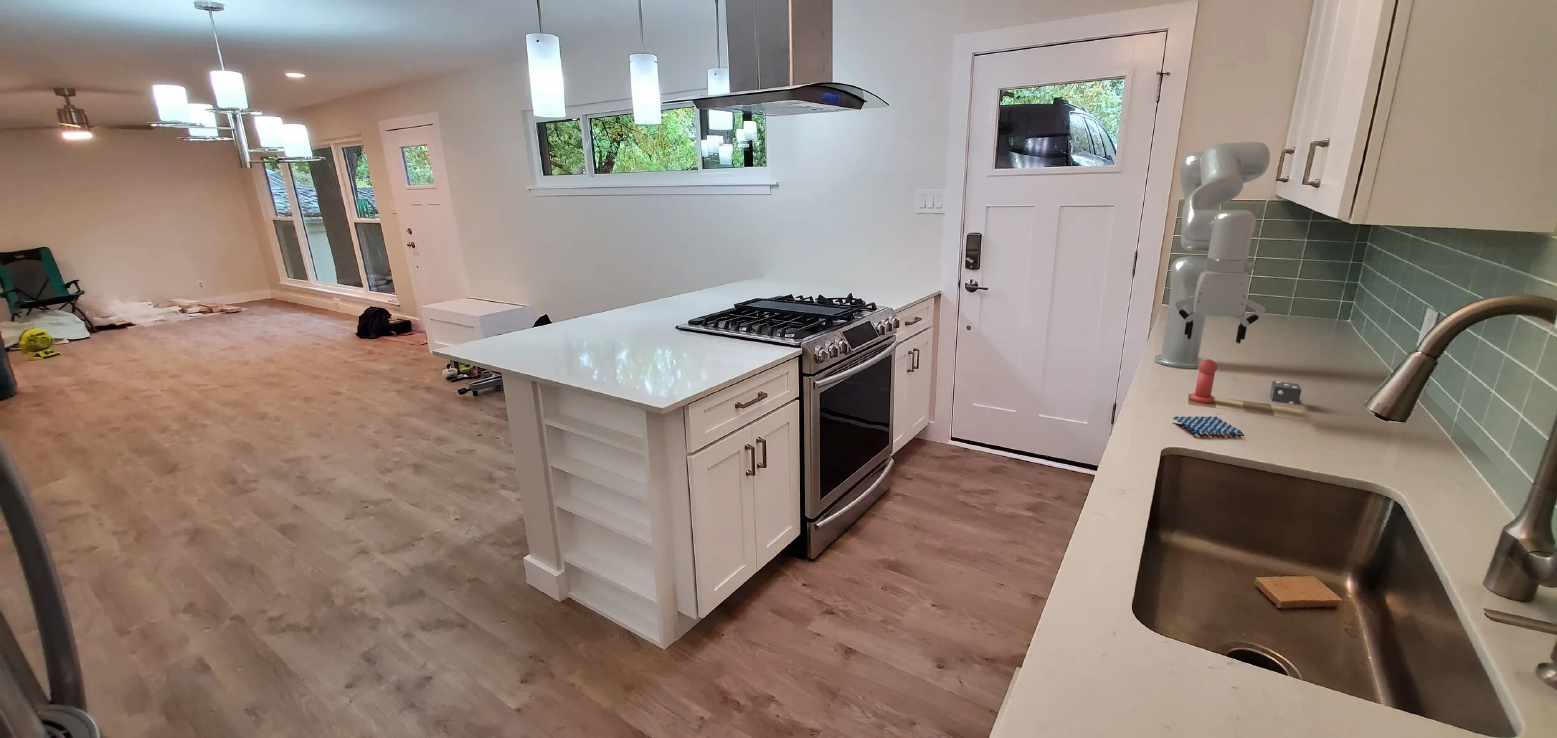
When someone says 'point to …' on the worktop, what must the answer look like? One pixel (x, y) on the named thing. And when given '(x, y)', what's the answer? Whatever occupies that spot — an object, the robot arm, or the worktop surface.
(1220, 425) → the woven mat
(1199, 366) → the pawn
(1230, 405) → the board
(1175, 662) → the worktop surface
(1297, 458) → the worktop surface
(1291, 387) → the die
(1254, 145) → the robot arm
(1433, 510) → the worktop surface
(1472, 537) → the worktop surface
